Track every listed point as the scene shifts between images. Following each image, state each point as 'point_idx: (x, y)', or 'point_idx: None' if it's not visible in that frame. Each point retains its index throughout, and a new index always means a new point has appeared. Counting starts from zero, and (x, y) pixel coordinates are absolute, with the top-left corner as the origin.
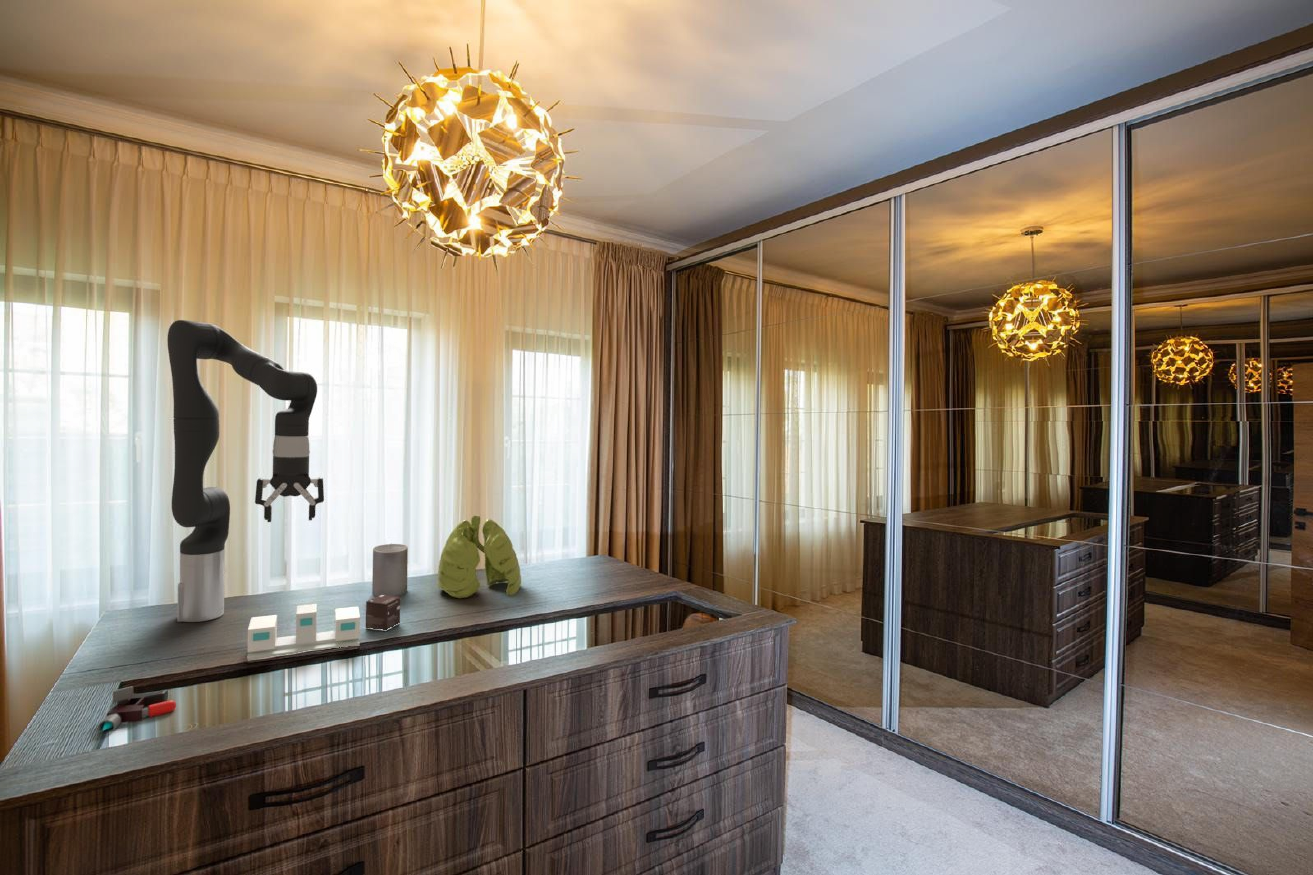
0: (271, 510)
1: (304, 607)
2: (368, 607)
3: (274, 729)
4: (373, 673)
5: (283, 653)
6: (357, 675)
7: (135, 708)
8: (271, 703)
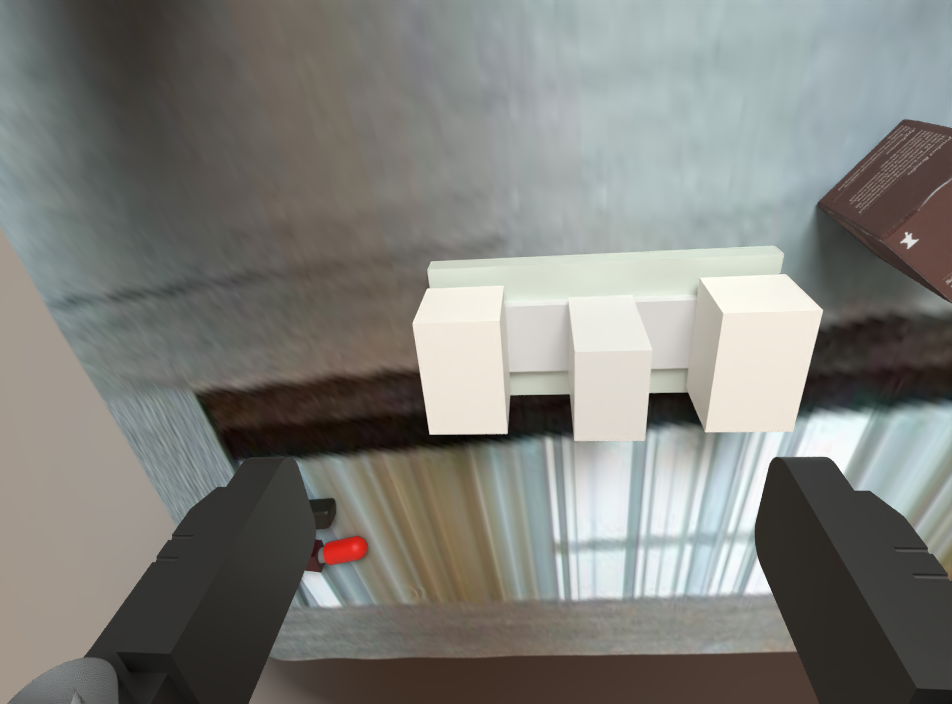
0: (229, 592)
1: (602, 380)
2: (874, 242)
3: (547, 639)
4: (747, 522)
5: (535, 394)
6: (709, 520)
7: (307, 564)
8: (532, 570)
